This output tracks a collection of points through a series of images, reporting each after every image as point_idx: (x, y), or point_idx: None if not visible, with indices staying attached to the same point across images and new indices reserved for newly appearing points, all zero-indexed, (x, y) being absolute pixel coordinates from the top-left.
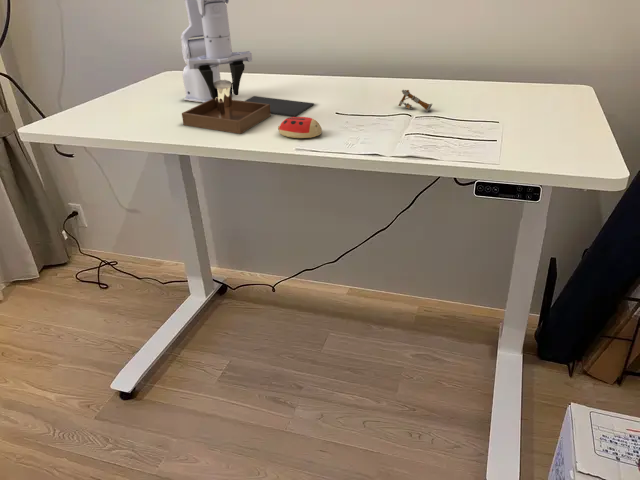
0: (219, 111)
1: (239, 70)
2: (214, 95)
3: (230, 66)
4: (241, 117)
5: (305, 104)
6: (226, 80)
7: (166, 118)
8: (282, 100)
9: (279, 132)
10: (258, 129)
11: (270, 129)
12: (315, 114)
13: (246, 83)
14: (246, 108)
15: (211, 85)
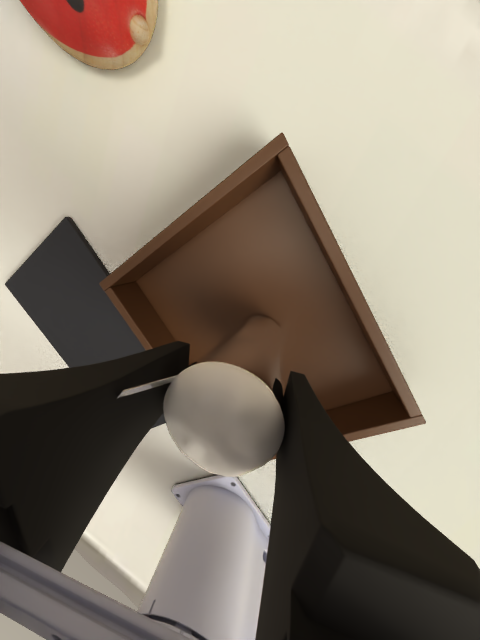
0: (281, 345)
1: (15, 385)
2: (297, 378)
3: (72, 529)
4: (212, 313)
5: (24, 290)
6: (180, 435)
7: (406, 477)
8: (71, 362)
9: (156, 2)
10: (207, 167)
11: (171, 137)
12: (15, 200)
13: (116, 514)
14: None
15: (318, 418)
